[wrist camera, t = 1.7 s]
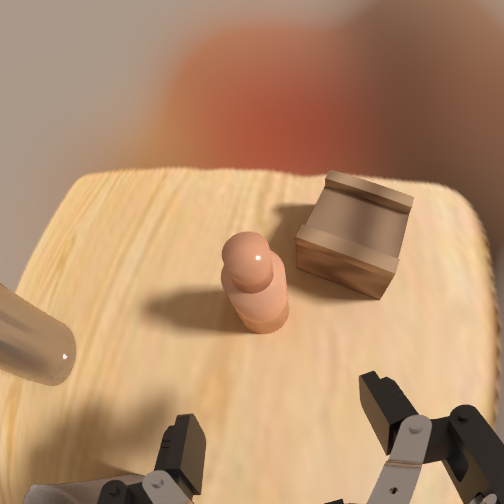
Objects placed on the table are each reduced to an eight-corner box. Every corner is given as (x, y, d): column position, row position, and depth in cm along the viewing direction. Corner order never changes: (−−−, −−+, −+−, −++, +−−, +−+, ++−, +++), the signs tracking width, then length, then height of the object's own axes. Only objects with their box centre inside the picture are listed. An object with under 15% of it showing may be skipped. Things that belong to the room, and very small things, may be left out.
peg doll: (231, 321, 31) (196, 267, 21) (254, 281, 33) (232, 213, 23) (275, 341, 29) (261, 297, 19) (297, 299, 31) (294, 235, 21)
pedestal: (296, 267, 33) (295, 236, 28) (327, 204, 37) (329, 169, 32) (379, 300, 30) (395, 273, 24) (400, 229, 34) (413, 197, 28)
